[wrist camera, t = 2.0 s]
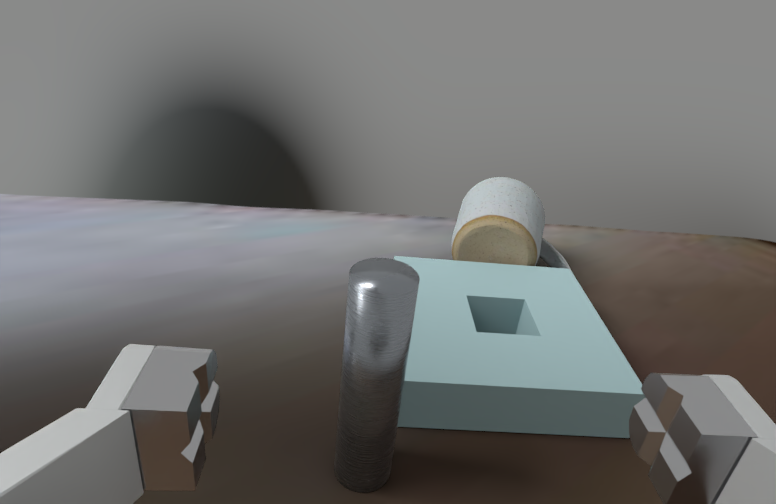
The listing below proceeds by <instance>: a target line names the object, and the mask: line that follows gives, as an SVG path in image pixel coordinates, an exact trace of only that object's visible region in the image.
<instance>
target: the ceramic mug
mask: <svg viewBox="0 0 776 504" xmlns="http://www.w3.org/2000/svg"><path fill="white" fill-rule="evenodd" d="M544 225H545V214H544V208H543V205H542V202H541V200H540V199H539V197H538V196H537V195H536V193H535V192H534V191H533V190H532V189H531V188H530V187H528V186H527V185H526V184H524V183H522V182H520V181H518V180H515V179H511V178H506V177H495V178H490V179H486V180H484V181H482V182H480V183H478V184H477V185H475V186H474V187H473V188H472V189H471V190H470V191H469V192H468V194H467V195H466V196H465V198H464V200H463V202H462V205H461V209H460V212H459V215H458V219H457V223H456V226H455V229H454V232H453V236H452V256H453V260H456V261H469V262H483V263H497V264H510V265H524V266H536V263H537V261H538V259H539V257H540V258H542V259H543V260H544V261H545V262H546V263H547V264H548V265H549V266H550V267H551V268H565V269H570V266H569V265H568V263H567V261H566V260H565V259H564V257H563V256H562V255H561V254H560V253H559V252H558V251H557V250H556V249H555V248H554V247H553V246H552V245H551V244H550V243H549V242H547V241H546V240H545V239H543V238H542V235H543V230H544ZM570 270H571V269H570Z"/></svg>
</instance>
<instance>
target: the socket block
mask: <svg viewBox="0 0 776 504" xmlns="http://www.w3.org/2000/svg"><path fill="white" fill-rule="evenodd" d="M394 260H397V261H401V262H403V263H405V264H407V265H409V266H411V267H412V268H413V269H414V270H416V272H417V273H418V275H419V278H420V281H419V288H418V294H417V301H416V307H415V314H414V320H413V327H412V334H411V340H410V347H409V353H408V360H407V367H406V373H405V380H404V386H403V393H402V400H401V406H400V413H399V419H398V426H397V427H415V428H435V429H455V430H475V431H495V432H515V433H535V434H555V435H575V436H595V437H615V438H630V435H629V418H630V415H631V412H632V410H633V407H634V406H635V405H636V404H637V403H639V402H640V401H641V400H643V399H644V398H645V396H644V394H643V392H642V390H641V387H642V384H641V382H640V380H639V379H638V377H637V376H636V374H635V372H634V371H633V369H632V368H631V366H630V364H629V363H628V361H627V360H626V358H625V356H624V355H623V353H622V352H621V350H620V348H619V347H618V345H617V344H616V342H615V340H614V339H613V337H612V336H611V334H610V332H609V331H608V329H607V328H606V326H605V324H604V323H603V321H602V320H601V318H600V316H599V315H598V313H597V312H596V310H595V308H594V307H593V305H592V303H591V302H590V300H589V299H588V297H587V295H586V294H585V292H584V291H583V289H582V287H581V286H580V284H579V283H578V281H577V279H576V278H575V276H574V275H573V273H572V271H571V270H570V269H565V268H551V267H538V266H524V265H510V264H497V263H483V262H469V261H456V260H442V259H429V258H415V257H401V256H394Z"/></svg>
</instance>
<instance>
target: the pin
mask: <svg viewBox="0 0 776 504" xmlns="http://www.w3.org/2000/svg"><path fill="white" fill-rule="evenodd" d="M419 281H420V278H419V275H418V273H417V272H416V270H414V269H413V268H412V267H411V266H409V265H407V264H405V263H403V262H401V261H397V260H393V259H388V258H370V259H366V260H362V261H360V262H358V263H356V264H354V265H353V266H352V268H351V269H350V273H349V285H348V298H347V310H346V323H345V336H344V348H343V361H342V374H341V386H340V399H339V412H338V424H337V437H336V450H335V462H334V472H335V475H336V477H337V479H338V481H339V482H340V483H341V484H342V485H343V486H344V487H346V488H348V489H350V490H352V491H355V492H362V493H363V492H372V491H375V490H377V489H379V488H381V487H382V486H383V485H384V484H385V483H386V482H387V481H388V479H389V476H390V472H391V466H392V459H393V452H394V446H395V439H396V433H397V426H398V419H399V413H400V406H401V400H402V393H403V386H404V380H405V373H406V367H407V360H408V353H409V347H410V340H411V334H412V327H413V320H414V314H415V307H416V301H417V294H418V288H419Z"/></svg>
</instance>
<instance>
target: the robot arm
mask: <svg viewBox="0 0 776 504" xmlns="http://www.w3.org/2000/svg"><path fill="white" fill-rule="evenodd" d="M217 368H218V366H217V357H216V352H215V351H214V350H211V349H197V348H184V347H171V346H152V345H137V344H129V345H127V346H126V347H124V348H123V349H122V351H121V352H120V354H119V355H118V357H117V359H116V360H115V362H114V363H113V365H112V367H111V368H110V370H109V371H108V373H107V375H106V376H105V378H104V380H103V381H102V383H101V384H100V386H99V388H98V389H97V391H96V392H95V394H94V396H93V397H92V399H91V400H90V402H89V404H88V405H87V407H86V408H85V409H84V408H76V409H74V410H73V411H71V412H69V413H68V414H66V415H64V416H62V417H61V418H59V419H57V420H56V421H54V422H52V423H51V424H49V425H47V426H46V427H44V428H42V429H40V430H39V431H37V432H35V433H34V434H32V435H30V436H29V437H27V438H25V439H23V440H22V441H20V442H18V443H17V444H15V445H13V446H12V447H10V448H8V449H6V450H5V451H3V452H1V453H0V504H133V503H134V502H135V501H136V500H137V499H138V498H139V497H141V496H142V495H143V494H144V491H143V490H158V491H195V490H196V487H197V484H198V481H199V478H200V475H201V472H202V469H203V466H204V463H205V460H206V455H205V444H206V443H207V442H208V441H210V440H211V439H212V438H213V435H214V431H215V428H216V424H217V418H218V412H219V398H220V396H219V386H218V385H217V384H216V383H215V382H214V381H213V379H214V376H215V373H216V371H217ZM641 390H642V392H643V394H644V396H645V398H644V399H643V400H641V401H640V402H639V403H637V404H636V405H635V406H634V407H633V410H632V412H631V415H630V418H629V435H630V439H631V443H632V446H633V448H634V450H635V452H636V453H637V455H638V456H639V457H640V458H641V459H642V460H644V461H645V462H646V463H648V464H649V465H650V466H651V468H650V471H649V475H648V476H649V478H650V480H651V482H652V484H653V485H654V487H655V489H656V491H657V493H658V495H659V496H660V498H661V500H662V502H663V504H776V425H775V423H774V422H773V421H772V420H771V419H770V418H769V416H768V415H767V414H766V413H765V412H764V411H763V410H762V408H761V407H760V406H759V405H758V404H757V403H756V401H755V400H754V399H753V398H752V397H751V396H750V395H749V393H748V392H747V391H746V390H745V389H744V388H743V386H742V385H741V384H740V383H739V382H738V381H737V380H736V379H734V378H733V377H731V376H729V375H688V374H666V373H651V374H649V375H648V376H647V377H646V378H645V380H644V383H643V385H642V387H641Z"/></svg>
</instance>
